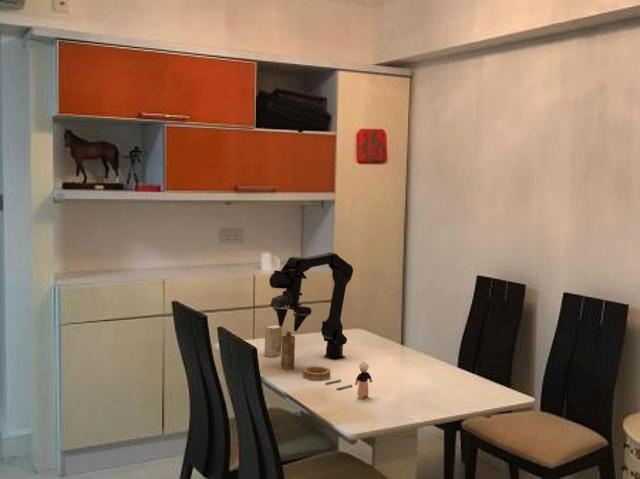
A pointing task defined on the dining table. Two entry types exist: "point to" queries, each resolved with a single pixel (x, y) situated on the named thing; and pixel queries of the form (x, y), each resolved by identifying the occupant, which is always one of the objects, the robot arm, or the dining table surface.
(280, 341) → the skincare box
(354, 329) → the dining table surface
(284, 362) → the brown wooden peg
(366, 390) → the grandmother figurine
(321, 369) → the bead ring
